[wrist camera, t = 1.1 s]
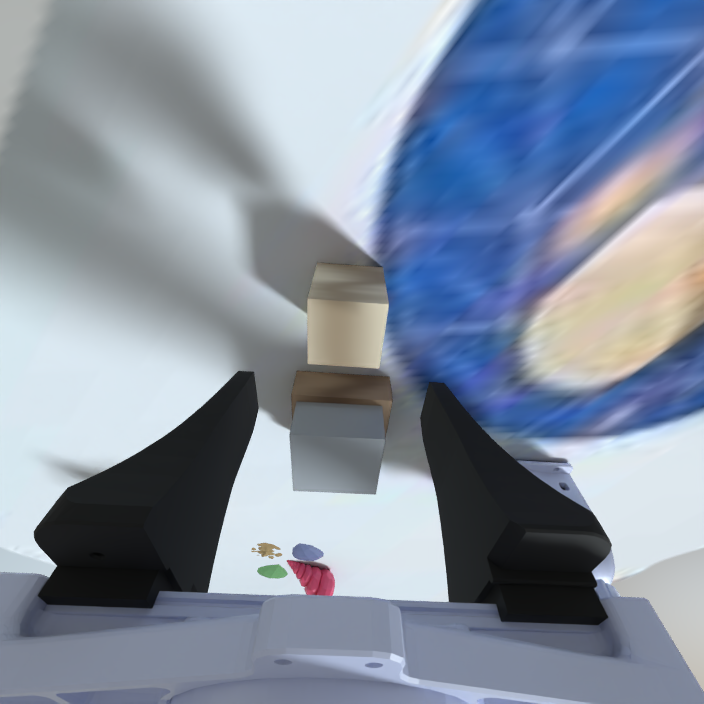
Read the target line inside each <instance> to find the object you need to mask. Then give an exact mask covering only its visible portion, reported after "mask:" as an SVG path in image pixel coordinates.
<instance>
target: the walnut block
mask: <svg viewBox="0 0 704 704" xmlns="http://www.w3.org/2000/svg"><path fill="white" fill-rule="evenodd" d="M291 400H292V421H293V416H294V411H295V406H296V401H298V402H317V403H337V404H356V405H375V406H382V408H383V419H384V430H385V437H386V432H387V427H388V422H389V417H390V412H391V407H392V402H393V400H392V392H391V384H390V377H385V376H369V375H354V374H339V373H323V372H308V371H297V372H296V377H295V381H294V385H293V389H292V394H291Z"/></svg>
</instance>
